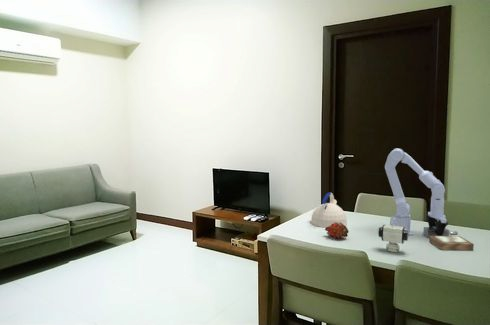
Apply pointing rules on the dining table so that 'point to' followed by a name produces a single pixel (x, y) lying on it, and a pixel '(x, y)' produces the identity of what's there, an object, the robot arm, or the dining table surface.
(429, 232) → the block
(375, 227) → the dining table surface
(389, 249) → the pneumatic valve
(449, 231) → the loose bolt
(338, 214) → the kettle
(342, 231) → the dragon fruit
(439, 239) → the stand
